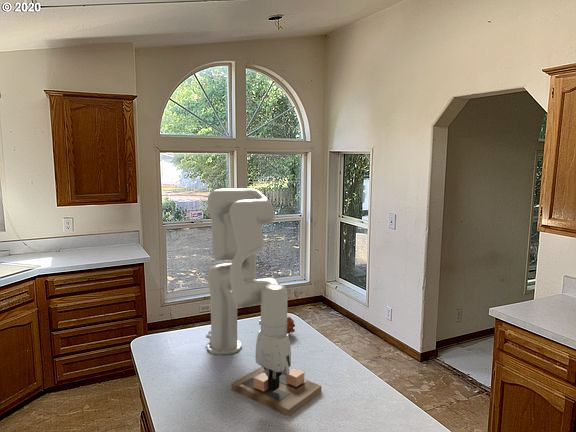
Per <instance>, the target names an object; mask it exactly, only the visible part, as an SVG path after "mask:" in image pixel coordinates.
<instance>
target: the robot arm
mask: <svg viewBox="0 0 576 432" xmlns="http://www.w3.org/2000/svg"><path fill="white" fill-rule="evenodd" d="M207 210H208V213H209V216H210V219H211V251H212V252H211V253H212V257H213V259H214V260H216V261H219V262H226V261H227V263H220V264H219V263H218V264H215V265H213V266H211V267H210V268H209V269H208V271H207V282H208V287H209V295H210V330H209V331H208V333H206V334H205V338H207V339H209V342H208V343H207V345H206V349H207V351H208V352H209V353H211V354H214V355H218V356H225V355H232V354H235V353H238V352H239V351H240V350H241V349H242V342H241V341H240V340H239V339H238V306H239V307H242V308H247V307H253V306H259V305H260V320H259V321H258V325H259V326H260V330H258V333H257V336H256V344H255V362H256V364H257V365H258V366H260V367H264V369H265V371H266V375H267V376H268V390H271V391H272V392H273V391H275V390H276V389H278V388H279V376H281V375H288V374H289V373H290V367H291V365H292V348H291V340H290V334H289V335H288V334H287V318H288V290H287V288H286V286H285V285H282V284H280V282H279V281H278V279H276V278H274V277H262V278H256V275H257V253H258V252H260V251H261V250H262V249H264V247H265V239H264V235H263V233H262V228H261V226H262V225H270V224H272V222H273V221H274V220H275V208H274V206H273V204H272V202H271V201H270V200H269V198H268V197H267V196H265V195H264V194H263V193H262V192H260V191H259V190H258V189H256V188H254V187H253V188H251V187H247V188H246V187H245V188H243V187H241V188H236V187H235V188H218V189H214V190H212V191H211V192H209V194H208V197H207ZM229 261H231V262H229ZM231 291H232V292H231Z"/></svg>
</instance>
